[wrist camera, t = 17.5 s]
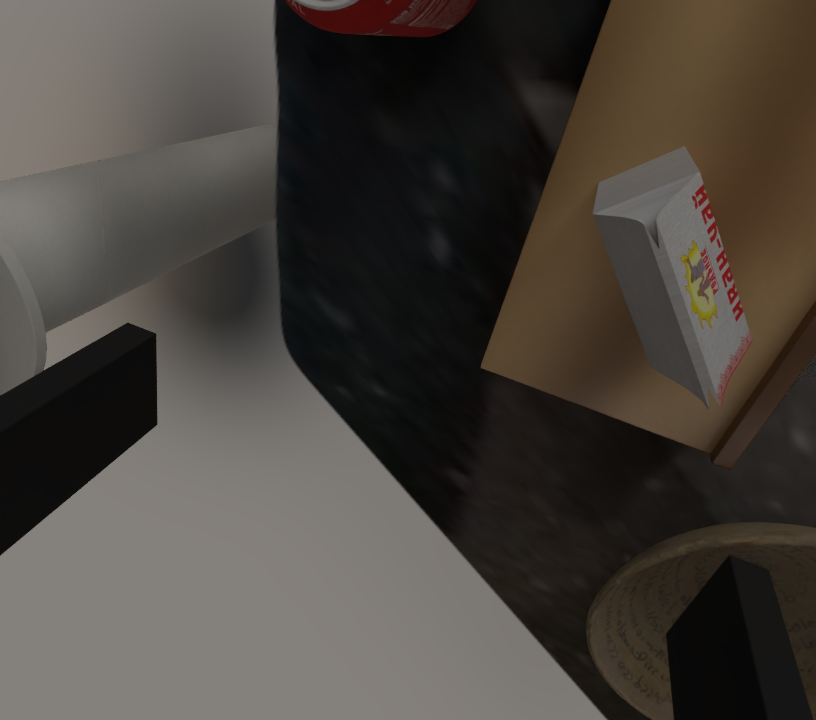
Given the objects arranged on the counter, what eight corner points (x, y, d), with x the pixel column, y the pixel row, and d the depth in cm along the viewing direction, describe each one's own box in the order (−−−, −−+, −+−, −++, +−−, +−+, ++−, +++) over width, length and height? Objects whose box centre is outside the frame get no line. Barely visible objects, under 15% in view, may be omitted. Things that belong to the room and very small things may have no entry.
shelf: (493, 338, 36) (476, 374, 32) (629, -41, 25) (630, -58, 21) (718, 420, 34) (730, 470, 30) (970, 43, 23) (1042, 42, 19)
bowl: (808, 693, 41) (844, 819, 34) (557, 590, 44) (545, 687, 37) (999, 514, 31) (1101, 641, 25) (659, 399, 34) (667, 484, 28)
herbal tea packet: (646, 311, 28) (655, 422, 20) (598, 182, 26) (586, 245, 18) (728, 285, 27) (776, 396, 18) (684, 145, 25) (715, 197, 16)
